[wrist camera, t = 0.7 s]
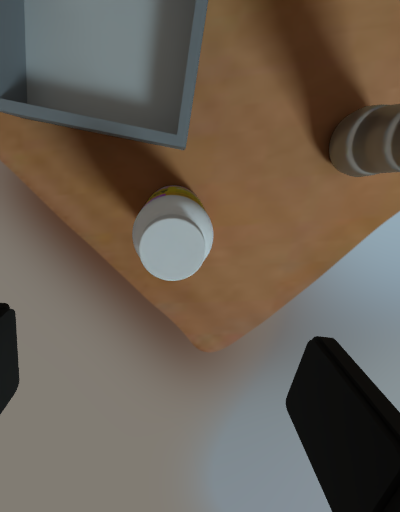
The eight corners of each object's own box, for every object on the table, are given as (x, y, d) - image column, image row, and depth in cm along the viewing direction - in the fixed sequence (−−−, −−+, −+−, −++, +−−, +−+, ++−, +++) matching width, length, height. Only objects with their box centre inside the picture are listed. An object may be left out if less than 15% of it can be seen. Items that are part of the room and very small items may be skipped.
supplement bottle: (168, 171, 28) (162, 179, 16) (214, 209, 30) (240, 240, 18) (133, 220, 30) (104, 260, 18) (179, 252, 32) (182, 309, 20)
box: (13, -108, 20) (-35, -189, 16) (213, -46, 23) (223, -100, 18) (22, 117, 25) (-13, 108, 21) (183, 150, 28) (185, 148, 23)
